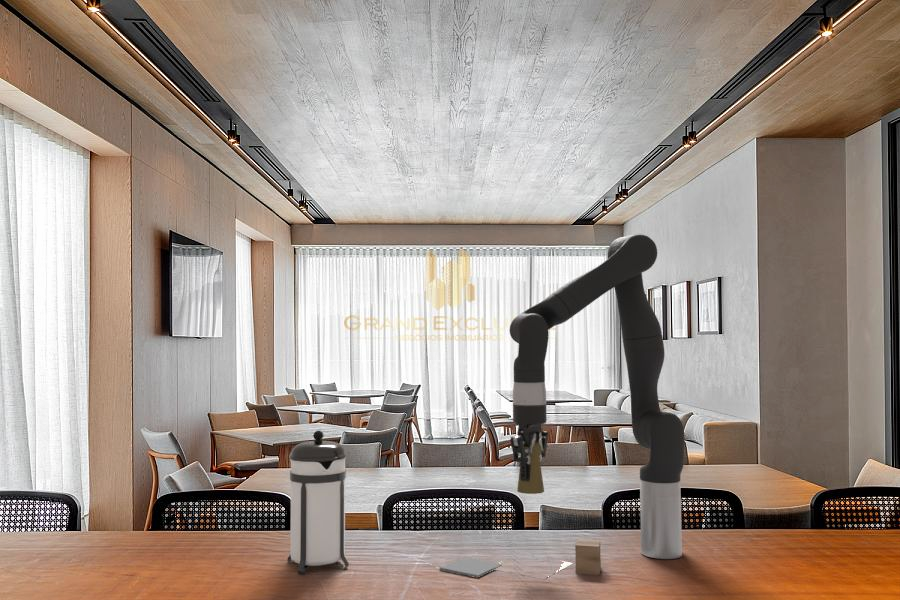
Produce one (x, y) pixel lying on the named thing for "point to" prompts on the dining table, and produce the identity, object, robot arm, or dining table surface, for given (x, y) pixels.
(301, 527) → the coffee press
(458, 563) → the slate coaster
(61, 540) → the dining table surface
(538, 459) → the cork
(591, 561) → the walnut block
